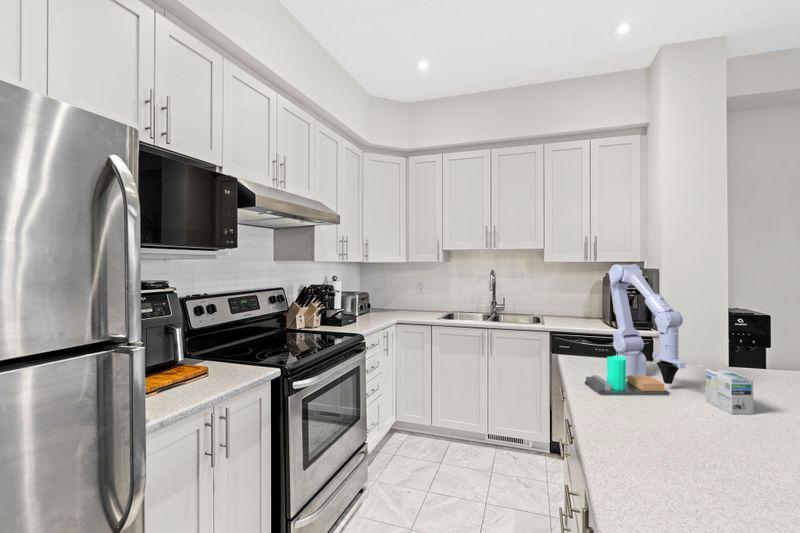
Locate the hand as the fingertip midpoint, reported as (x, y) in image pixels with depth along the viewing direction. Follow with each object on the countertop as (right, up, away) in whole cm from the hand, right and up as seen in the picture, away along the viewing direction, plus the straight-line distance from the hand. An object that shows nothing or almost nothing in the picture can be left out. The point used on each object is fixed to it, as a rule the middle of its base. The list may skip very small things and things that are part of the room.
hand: (668, 383), depth 139 cm
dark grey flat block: (-15, -2, 0) cm, 15 cm away
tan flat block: (-8, -1, 0) cm, 8 cm away
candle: (-19, -2, 0) cm, 19 cm away
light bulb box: (+7, -3, -17) cm, 19 cm away
